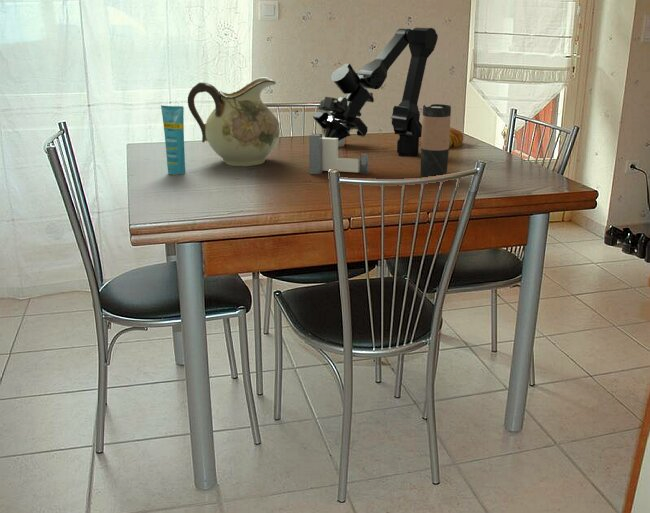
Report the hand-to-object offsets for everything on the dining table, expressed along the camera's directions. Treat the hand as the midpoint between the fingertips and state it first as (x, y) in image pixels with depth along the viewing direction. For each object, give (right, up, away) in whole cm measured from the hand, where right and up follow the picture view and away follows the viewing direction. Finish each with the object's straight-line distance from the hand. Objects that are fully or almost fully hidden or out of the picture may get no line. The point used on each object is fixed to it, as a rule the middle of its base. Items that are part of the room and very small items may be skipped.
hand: (324, 146), depth 210 cm
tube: (-42, -8, -2) cm, 43 cm away
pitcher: (-25, -3, +12) cm, 28 cm away
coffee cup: (+3, +6, +39) cm, 40 cm away
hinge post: (+11, -8, -2) cm, 14 cm away
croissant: (+40, +6, +39) cm, 57 cm away
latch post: (-3, -8, -2) cm, 8 cm away
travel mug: (+30, -10, -8) cm, 33 cm away
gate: (+3, -7, 0) cm, 8 cm away
